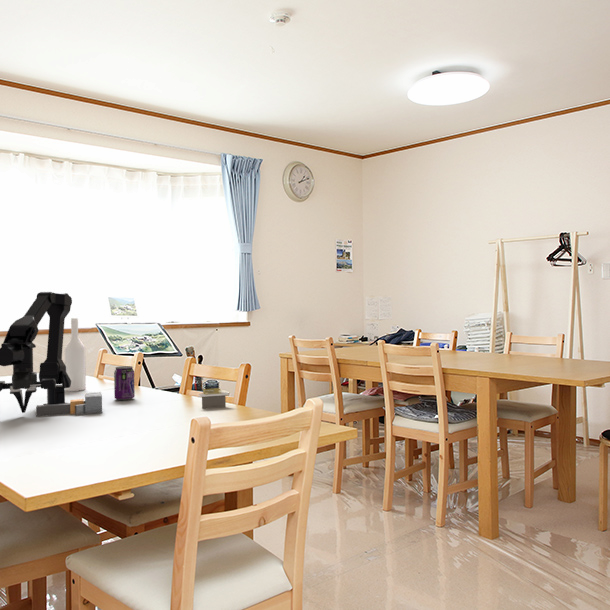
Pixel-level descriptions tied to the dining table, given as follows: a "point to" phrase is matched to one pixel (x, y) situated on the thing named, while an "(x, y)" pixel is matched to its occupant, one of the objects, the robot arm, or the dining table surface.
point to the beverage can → (124, 383)
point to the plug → (58, 408)
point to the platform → (213, 398)
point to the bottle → (75, 359)
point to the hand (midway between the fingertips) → (23, 412)
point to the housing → (90, 404)
